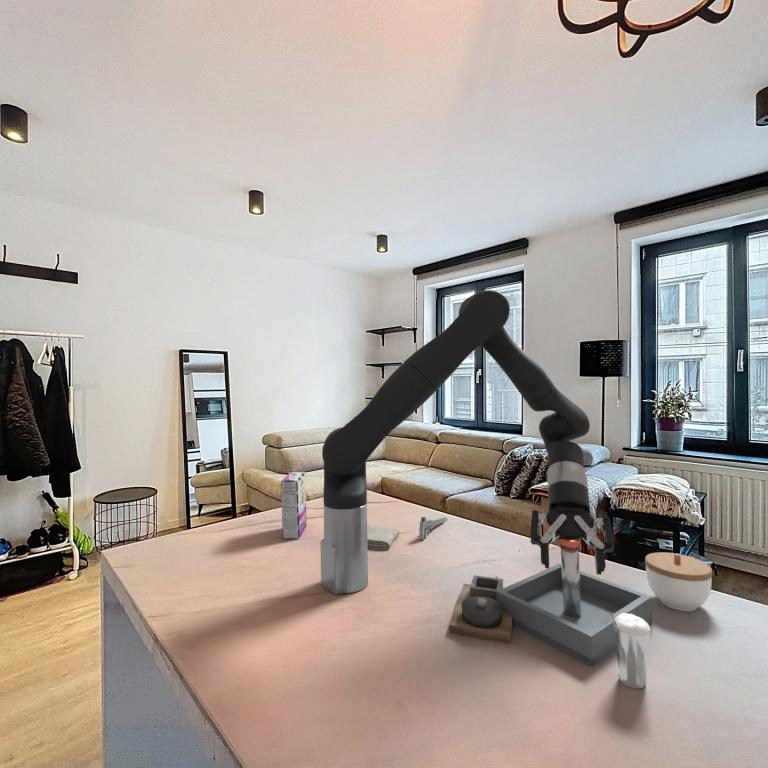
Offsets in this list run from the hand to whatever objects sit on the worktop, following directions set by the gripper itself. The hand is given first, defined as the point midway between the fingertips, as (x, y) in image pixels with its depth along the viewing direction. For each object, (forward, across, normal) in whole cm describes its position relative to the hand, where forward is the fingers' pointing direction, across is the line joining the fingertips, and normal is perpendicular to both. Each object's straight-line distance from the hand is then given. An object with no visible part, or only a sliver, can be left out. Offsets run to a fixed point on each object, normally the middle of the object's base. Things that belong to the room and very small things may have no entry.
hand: (572, 569), depth 78 cm
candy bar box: (-13, -72, +26) cm, 78 cm away
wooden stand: (+8, -15, +5) cm, 18 cm away
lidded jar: (-3, +19, +16) cm, 25 cm away
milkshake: (+17, +6, -3) cm, 18 cm away
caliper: (-22, -34, +36) cm, 55 cm away
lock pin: (+5, 0, +7) cm, 9 cm away
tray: (+6, 0, +8) cm, 9 cm away
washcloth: (-13, -51, +27) cm, 59 cm away
